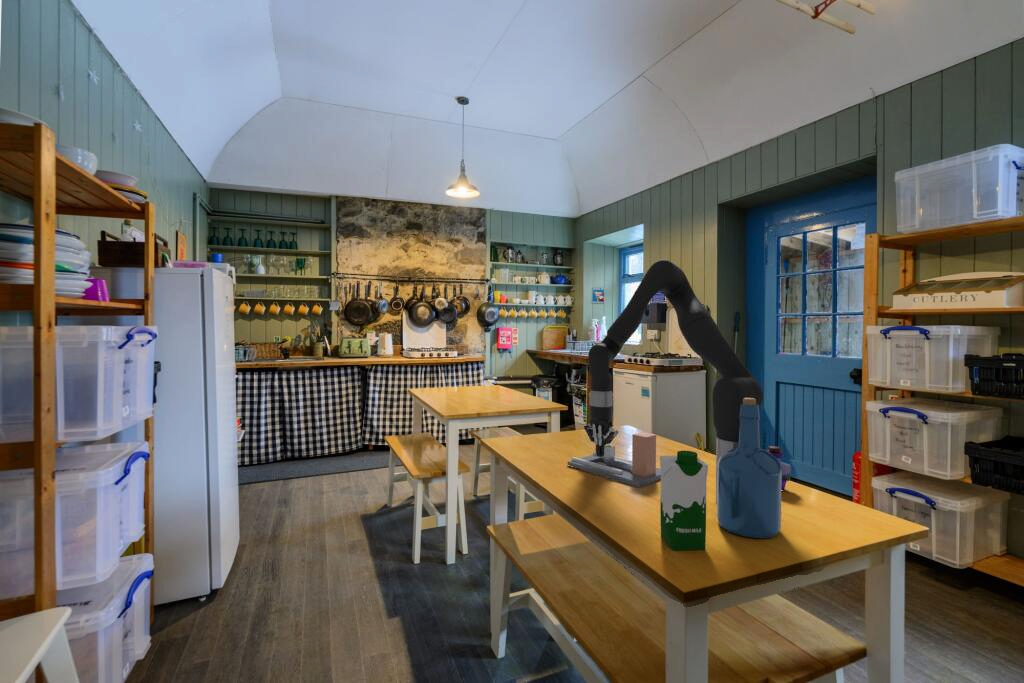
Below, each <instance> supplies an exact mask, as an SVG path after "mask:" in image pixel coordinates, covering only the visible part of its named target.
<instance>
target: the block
mask: <svg viewBox="0 0 1024 683" xmlns="http://www.w3.org/2000/svg"><path fill="white" fill-rule="evenodd" d="M631 436H632V438H631V439H632V448H631V450H632V454H631V457H632V460H631V461H632V473H633V474H636V475H640V476H643V477H649V476H651V475H654V474H656V468H657V434H653V433H650V432H644V431H640V432H637V433H633V434H632V435H631Z"/></svg>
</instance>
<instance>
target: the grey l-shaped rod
mask: <svg viewBox="0 0 1024 683" xmlns="http://www.w3.org/2000/svg"><path fill="white" fill-rule="evenodd" d="M615 457H616V445H612V444H606V445H605V446H604V464H607V465H613V466H617V467H621V468H624V469H628V470H631V472H632V462H628V461H624V460H620V459H616V458H615Z"/></svg>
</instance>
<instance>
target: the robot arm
mask: <svg viewBox="0 0 1024 683" xmlns="http://www.w3.org/2000/svg"><path fill="white" fill-rule="evenodd" d="M659 292H660V294H662V295H663V296H665V298H666V299H667V300H668V302H669V303H670V304H671V306H672V307H673V309H674V311H675V313H676V317H677V322H678V323H677V324H678V328H679V330H680V333H681V334H682V337H683V338H684V340H685V341H686V343H687V345H688V346H689V348H690V349H691V350H692V351H693V352H694V353H695V354H696V355H697V356H699V357H700V358H701V359H703V361H705V362H707V363H708V365H711V366H712V367H713V368H714V369H715V370H716V372H718V373H719V374H720V377H722V378H720V379H718V380H717V381H716V382H715V383H714V386H713V389H712V397H711V398H712V420H713V426H714V429H715V433H716V437H715V438H716V441H715V442H716V448H715V449H716V450H715V452H716V453H715V454H716V455H715V458H716V459H715V503H716V504H717V474H718V460H719V458H720V457H721V455H723V454H724V453H726V452H727V451H730V450H732V449H735V448H736V447H737V446H738V442H739V424H740V418H739V412H740V405H741V404H742V403H743V399H744V398H754V399H756V404H757V405H758V406H759V409H760V408H761V406H762V405H763V402H764V391H763V389H762V388H763V387H762V386H761V385H760V382H759V381H758V380H757V378H756V377H755V376H754V375H753V374H752V372H751V371H750V370H749V369H748V368H747V367H746V365H745V364H744V362H742V361H741V359H740V358H739V356H738V355H737V354H736V352H735V351H734V349H733V348H732V347H731V345H730V343H729V342H728V341H727V339H726V338H725V336H724V335H723V333H722V331H721V329H720V328H719V326H718V324H717V323H716V321H715V320H714V318H713V317H712V316H711V314H710V312H709V311H708V310H707V309H706V308H705V306H704V305H703V304H702V302H701V301H700V300H699V298H698V297H697V296H696V294H695V292H694V290H693V288H692V285H691V284H690V282H689V279H688V278H687V276H686V274H685V272H684V271H683V269H682V268H680V267H679V266H677V265H676V264H675V263H673V262H672V261H671V260H668V259H659V260H657V261H655V262H653V264H652V265H651V266H650V267H649V268H648V269H647V271H646V272H645V274H644V276H643V278H642V279H641V281H640V283H639V285H638V287H637V288H636V290H635V291H634V293H633V295H632V296H631V298H630V300H629V301H628V303H627V304H626V306H625V308H624V309H623V311H622V312H621V313H620V314H619V316H617V318H616V319H615V320H614V322H613V323H612V324H611V325H610V326H609V328H608V330H606V335H605V336H604V338H603V340H601V341H600V343H595V344H593V345H592V346H591V347H590V348H589V351H588V355H587V356H588V357H587V358H588V359H587V360H588V361H587V362H588V368H589V374H590V392H589V403H588V404H589V405H588V406H589V410H588V411H589V413H588V414H589V415H588V417H589V418H590V419H589V423H587V424H585V425H584V426H583V429H584V430H585V432H586V435H587V436H588V437H589V440H590V442H592V443H594V444H595V452H596V455H597V456H600V457H602V456H604V446H607V445H611V443H612V442H613V440H614V439H615V437H616V436H617V435H618V434H619V431H618V430H616V429H614V427H613V423H612V419H613V403H614V402H613V400H614V398H613V376H612V374H611V373H610V363H612V362H613V361H614V360H615V358H616V357H617V356H618V354H619V353H620V351H621V350H622V348H623V346H624V345H625V344H626V342H628V341H629V340H630V338H631V337H632V336H633V334H635V332H636V331H637V330H638V328H639V327H640V325H641V323H642V321H643V318H644V315H645V311H646V310H647V306H648V305H649V303H650V302H651V301H652V299H653V297H655V296H656V295H657V293H659Z"/></svg>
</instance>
